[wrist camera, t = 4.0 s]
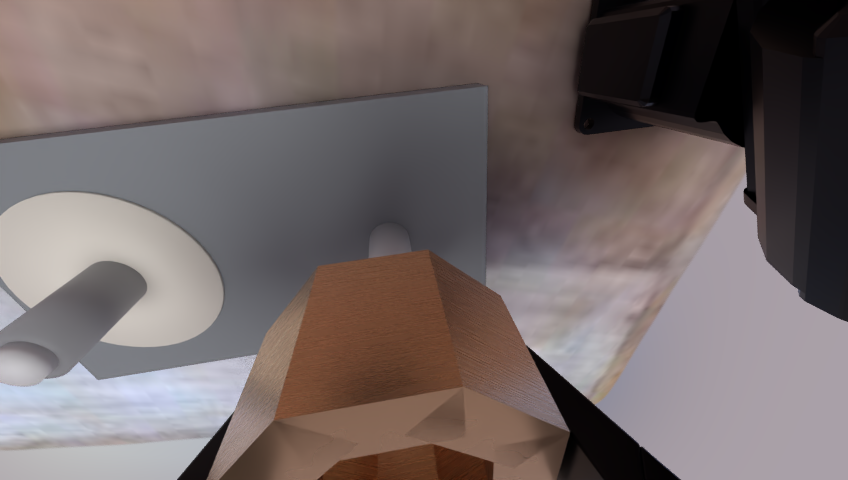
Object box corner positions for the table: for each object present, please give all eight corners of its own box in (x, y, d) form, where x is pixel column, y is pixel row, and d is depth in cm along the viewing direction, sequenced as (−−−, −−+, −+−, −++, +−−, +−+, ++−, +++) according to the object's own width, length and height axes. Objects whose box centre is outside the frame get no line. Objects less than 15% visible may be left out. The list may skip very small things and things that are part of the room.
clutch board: (478, 83, 14) (546, 101, 8) (478, 300, 21) (516, 393, 15) (-80, 148, 12) (-459, 225, 7) (116, 358, 19) (8, 483, 14)
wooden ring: (502, 238, 8) (589, 364, 5) (496, 392, 12) (542, 526, 9) (237, 277, 8) (130, 446, 4) (313, 425, 12) (286, 579, 8)
